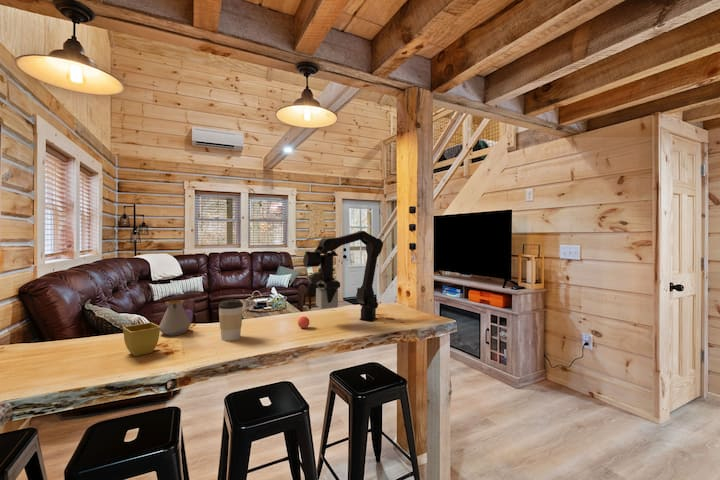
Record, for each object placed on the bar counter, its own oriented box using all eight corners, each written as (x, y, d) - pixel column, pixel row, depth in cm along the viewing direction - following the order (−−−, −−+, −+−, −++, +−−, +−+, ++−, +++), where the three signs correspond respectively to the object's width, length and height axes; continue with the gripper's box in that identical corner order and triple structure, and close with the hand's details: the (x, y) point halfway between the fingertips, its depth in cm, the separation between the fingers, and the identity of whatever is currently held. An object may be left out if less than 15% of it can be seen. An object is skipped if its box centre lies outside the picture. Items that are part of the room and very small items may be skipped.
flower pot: (151, 346, 118) (151, 321, 118) (160, 352, 113) (160, 326, 113) (122, 353, 111) (122, 327, 111) (130, 360, 106) (130, 332, 106)
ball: (294, 326, 141) (303, 332, 143) (302, 319, 140) (311, 326, 142) (296, 318, 146) (304, 324, 147) (303, 312, 144) (312, 318, 146)
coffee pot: (159, 330, 137) (159, 294, 137) (190, 327, 143) (190, 292, 142) (155, 346, 118) (155, 305, 118) (191, 342, 124) (191, 302, 123)
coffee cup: (217, 336, 131) (218, 298, 131) (241, 333, 135) (242, 297, 135) (218, 343, 123) (218, 303, 123) (244, 340, 127) (244, 301, 127)
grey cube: (331, 303, 153) (332, 287, 153) (337, 307, 146) (338, 289, 146) (315, 305, 150) (316, 288, 150) (321, 308, 143) (321, 290, 143)
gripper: (303, 264, 153) (303, 298, 153) (315, 269, 136) (315, 306, 136) (326, 264, 157) (325, 296, 158) (340, 268, 140) (340, 304, 141)
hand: (326, 300), depth 148 cm, fingers closed on grey cube, 8 cm apart
